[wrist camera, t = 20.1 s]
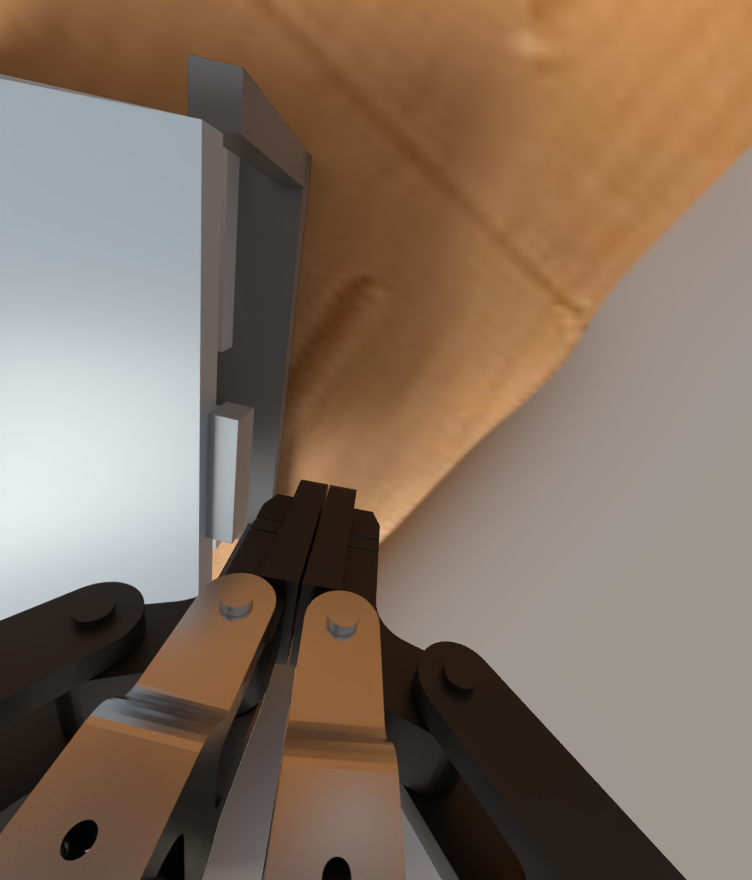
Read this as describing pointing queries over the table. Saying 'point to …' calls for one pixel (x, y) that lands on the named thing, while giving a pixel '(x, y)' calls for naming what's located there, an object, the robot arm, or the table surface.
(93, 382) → the lid
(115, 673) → the robot arm
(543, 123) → the table surface
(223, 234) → the housing
